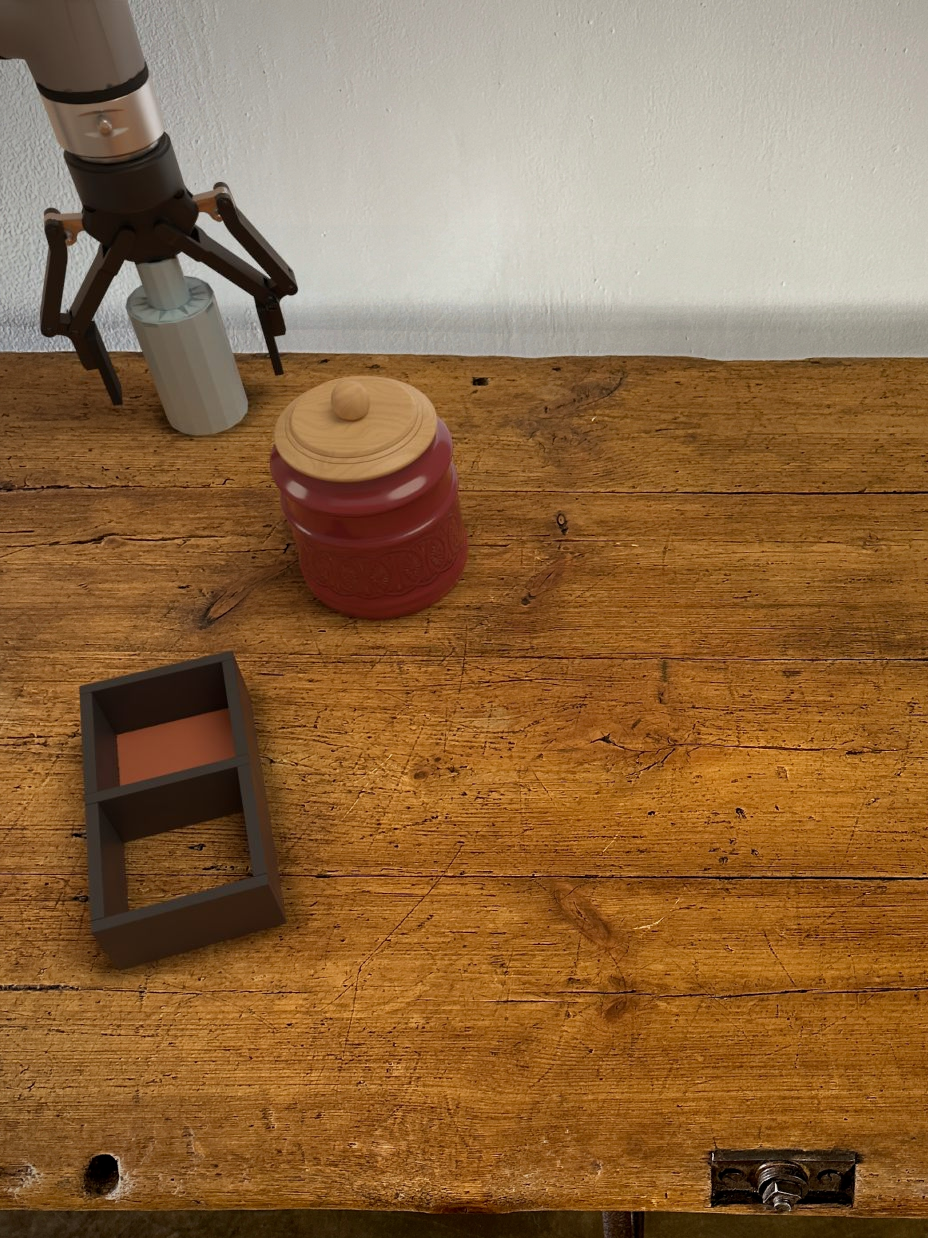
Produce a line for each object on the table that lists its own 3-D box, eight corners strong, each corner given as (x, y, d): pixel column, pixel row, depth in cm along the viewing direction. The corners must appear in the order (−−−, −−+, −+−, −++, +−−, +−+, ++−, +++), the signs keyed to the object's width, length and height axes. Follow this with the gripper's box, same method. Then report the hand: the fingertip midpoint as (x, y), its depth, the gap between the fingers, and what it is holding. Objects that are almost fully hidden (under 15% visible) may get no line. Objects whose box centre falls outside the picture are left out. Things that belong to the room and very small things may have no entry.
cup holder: (107, 735, 85) (78, 685, 81) (252, 700, 87) (232, 649, 83) (123, 976, 73) (90, 933, 69) (289, 928, 76) (268, 883, 71)
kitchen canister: (272, 600, 93) (209, 418, 80) (358, 495, 101) (314, 312, 87) (422, 647, 91) (384, 467, 77) (498, 535, 98) (475, 353, 85)
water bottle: (156, 435, 106) (92, 271, 93) (192, 388, 110) (135, 226, 97) (229, 447, 105) (174, 283, 92) (262, 399, 109) (214, 237, 97)
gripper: (-72, 191, 83) (47, 436, 99) (294, 138, 88) (350, 378, 105) (-67, 140, 87) (45, 382, 104) (281, 93, 93) (336, 330, 109)
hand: (198, 381), depth 104 cm, fingers open, 13 cm apart
